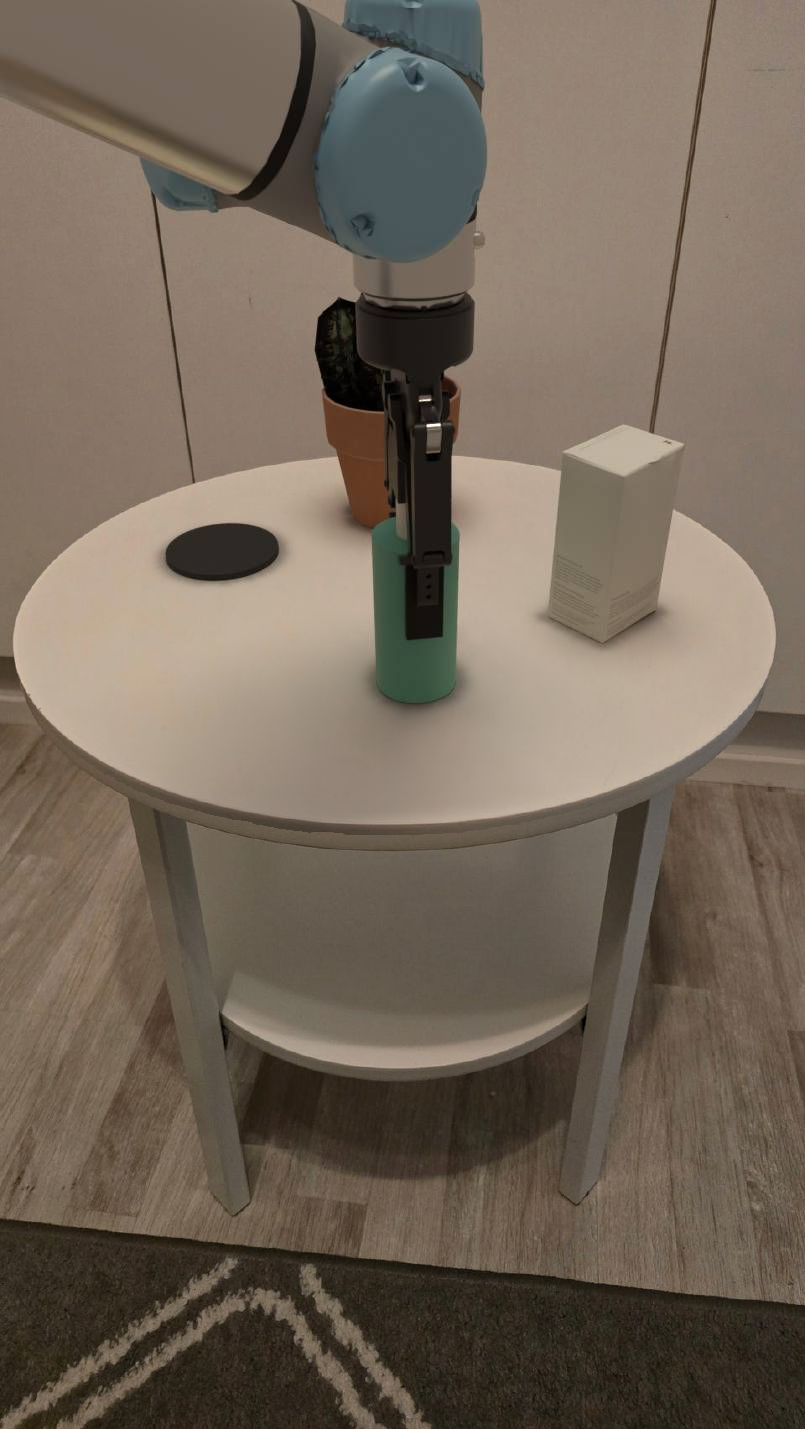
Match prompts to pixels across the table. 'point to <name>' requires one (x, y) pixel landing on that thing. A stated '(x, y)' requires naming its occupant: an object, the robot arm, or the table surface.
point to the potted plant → (359, 411)
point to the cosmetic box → (612, 530)
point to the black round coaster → (222, 551)
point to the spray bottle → (399, 662)
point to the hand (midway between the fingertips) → (415, 611)
